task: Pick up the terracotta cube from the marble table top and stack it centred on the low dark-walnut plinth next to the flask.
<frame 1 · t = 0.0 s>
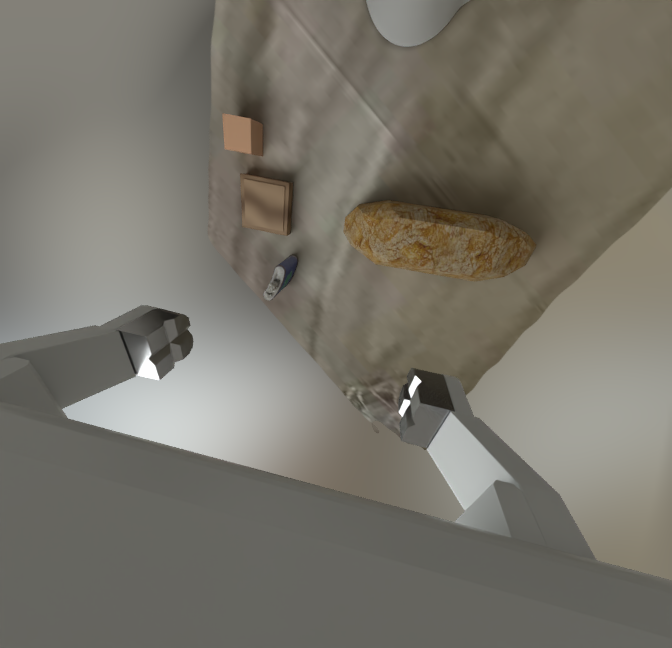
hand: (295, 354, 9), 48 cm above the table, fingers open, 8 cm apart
terracotta block: (250, 138, 47), on the table
walnut plinth: (269, 205, 52), on the table
flask: (288, 271, 59), on the table
bread: (431, 236, 50), on the table
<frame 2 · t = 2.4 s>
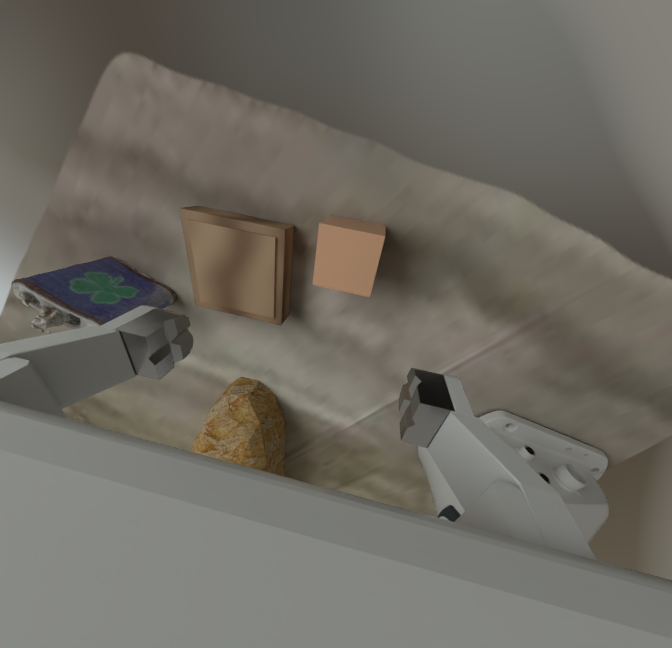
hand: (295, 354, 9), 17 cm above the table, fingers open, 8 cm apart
terracotta block: (353, 247, 23), on the table
walnut plinth: (247, 264, 26), on the table
flask: (143, 280, 30), on the table
bread: (257, 447, 45), on the table
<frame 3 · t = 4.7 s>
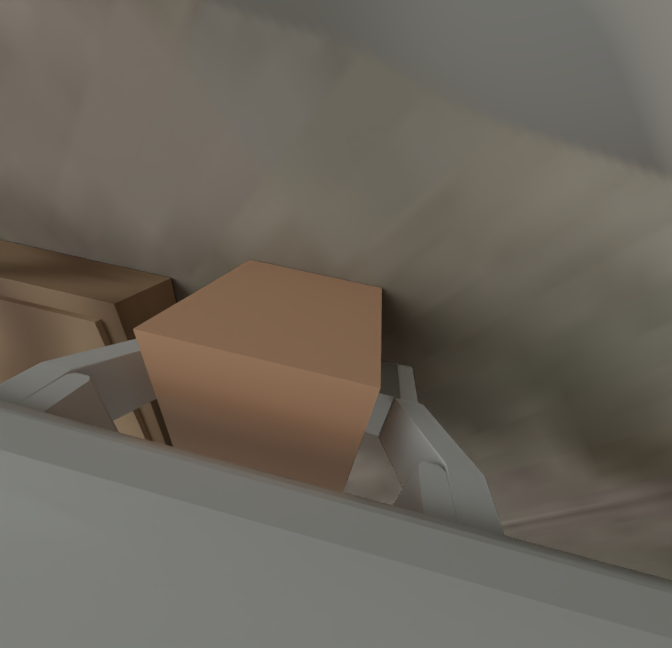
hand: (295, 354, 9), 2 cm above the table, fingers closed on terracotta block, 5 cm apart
terracotta block: (308, 329, 10), on the table, touching gripper
walnut plinth: (102, 345, 13), on the table
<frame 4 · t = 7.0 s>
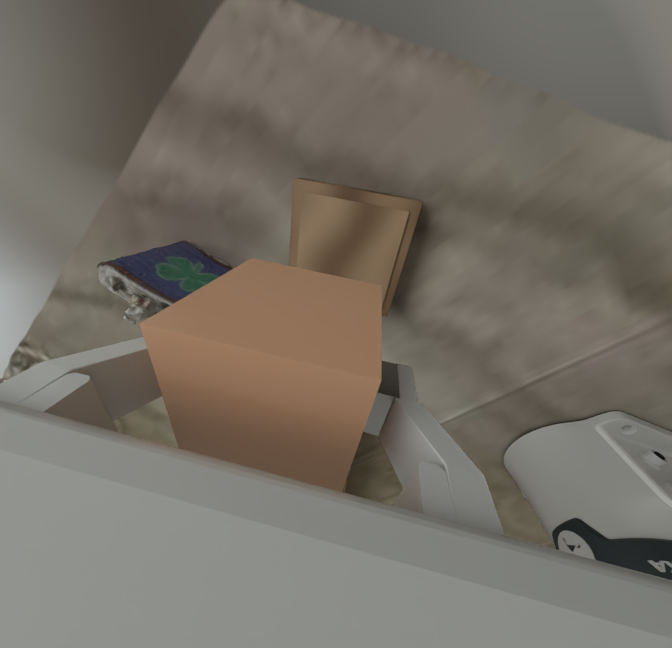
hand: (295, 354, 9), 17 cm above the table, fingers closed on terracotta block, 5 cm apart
terracotta block: (309, 327, 10), point 15 cm above the table, touching gripper
walnut plinth: (349, 248, 23), on the table
flask: (217, 267, 27), on the table
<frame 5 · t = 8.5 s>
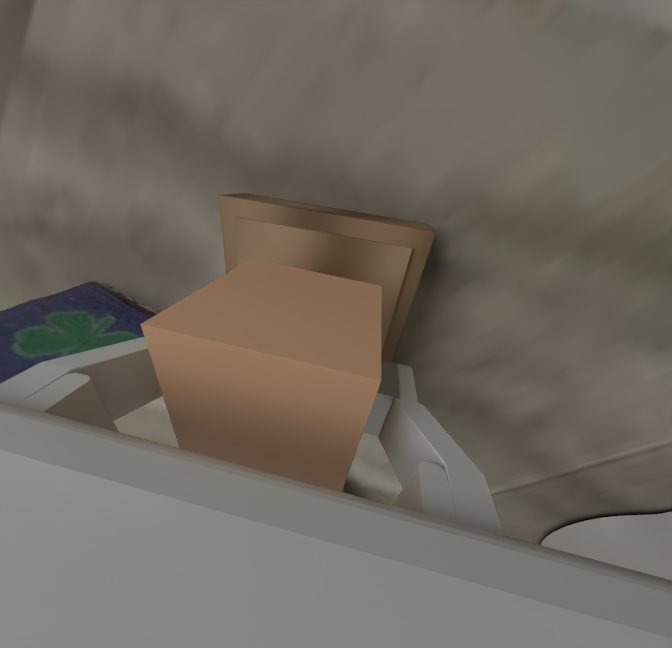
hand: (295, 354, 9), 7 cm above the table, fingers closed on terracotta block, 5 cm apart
terracotta block: (309, 327, 10), point 6 cm above the table, touching gripper
walnut plinth: (323, 293, 16), on the table
flask: (146, 315, 19), on the table
when the fingers open (6 cm above the table, at t = 9.7 s): terracotta block drops 1 cm, resting on walnut plinth.
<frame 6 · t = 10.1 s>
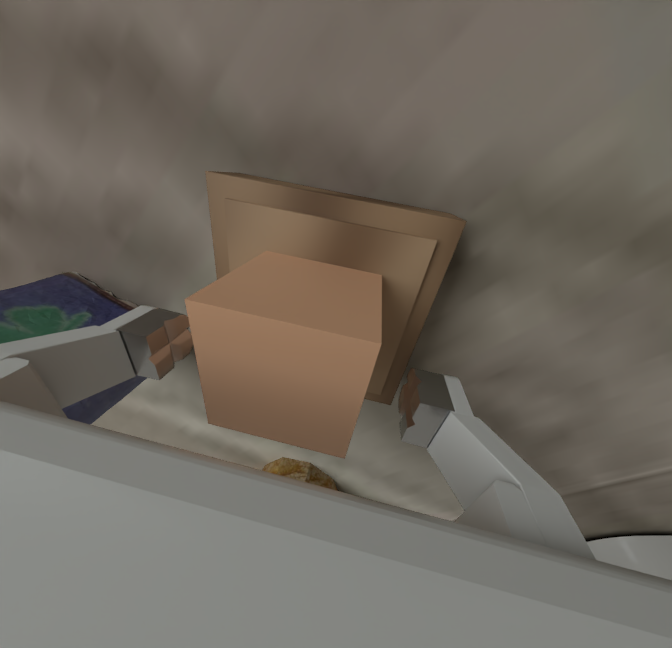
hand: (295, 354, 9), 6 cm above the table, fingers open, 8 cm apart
terracotta block: (316, 313, 11), point 3 cm above the table, touching walnut plinth
walnut plinth: (326, 291, 14), on the table
flask: (129, 312, 17), on the table
bread: (299, 530, 33), on the table
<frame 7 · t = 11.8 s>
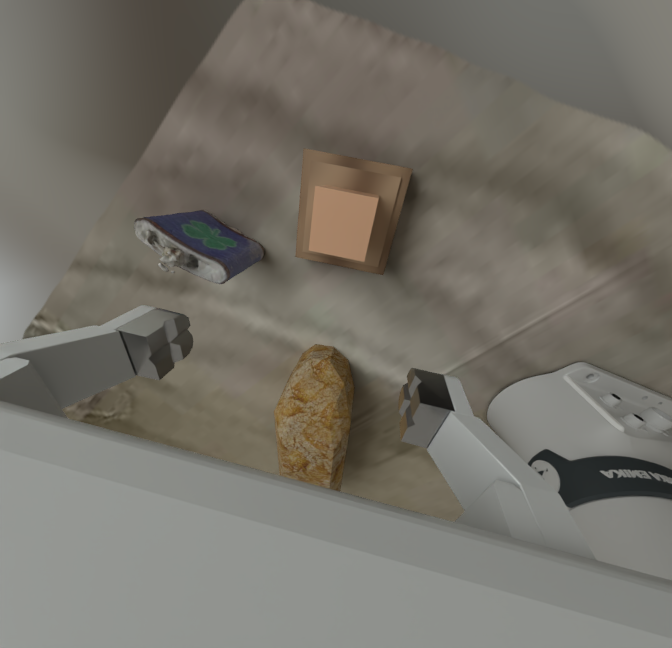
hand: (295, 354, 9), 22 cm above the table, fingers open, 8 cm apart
terracotta block: (347, 218, 24), point 3 cm above the table, touching walnut plinth
walnut plinth: (349, 215, 26), on the table
flask: (231, 236, 30), on the table
bread: (319, 421, 46), on the table
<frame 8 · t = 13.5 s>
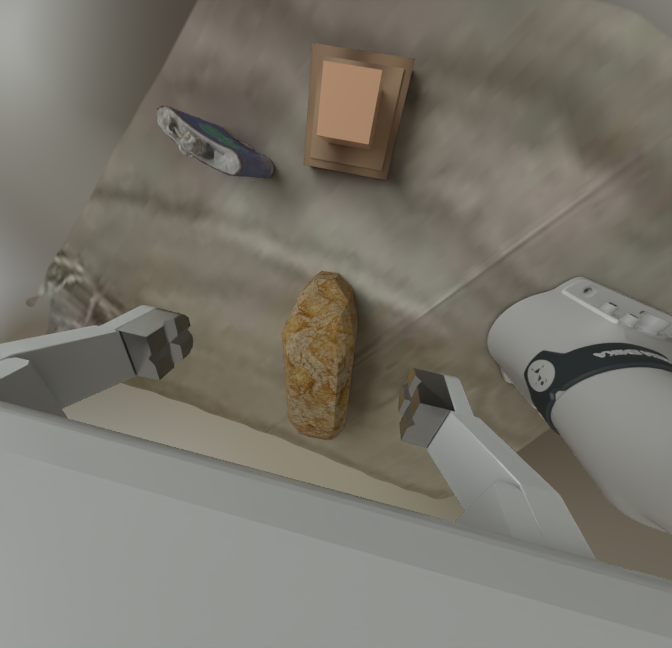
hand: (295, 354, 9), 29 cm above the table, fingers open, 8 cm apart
terracotta block: (353, 117, 26), point 3 cm above the table, touching walnut plinth
walnut plinth: (355, 122, 28), on the table
flask: (243, 153, 32), on the table
bread: (325, 360, 47), on the table
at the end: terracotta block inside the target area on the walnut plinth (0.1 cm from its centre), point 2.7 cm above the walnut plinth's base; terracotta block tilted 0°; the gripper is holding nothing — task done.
